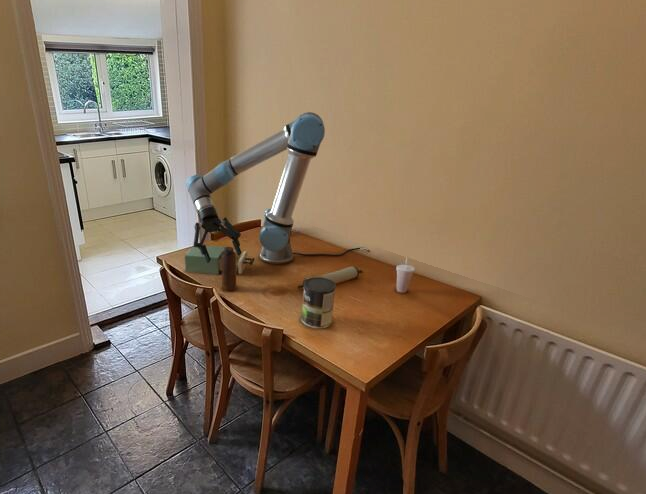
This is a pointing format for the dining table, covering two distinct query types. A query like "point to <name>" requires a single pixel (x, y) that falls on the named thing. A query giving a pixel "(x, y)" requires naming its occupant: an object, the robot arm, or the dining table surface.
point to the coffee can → (318, 302)
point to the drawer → (238, 261)
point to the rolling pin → (339, 275)
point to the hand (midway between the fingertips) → (224, 257)
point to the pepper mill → (229, 269)
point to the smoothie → (404, 276)
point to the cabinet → (203, 260)
